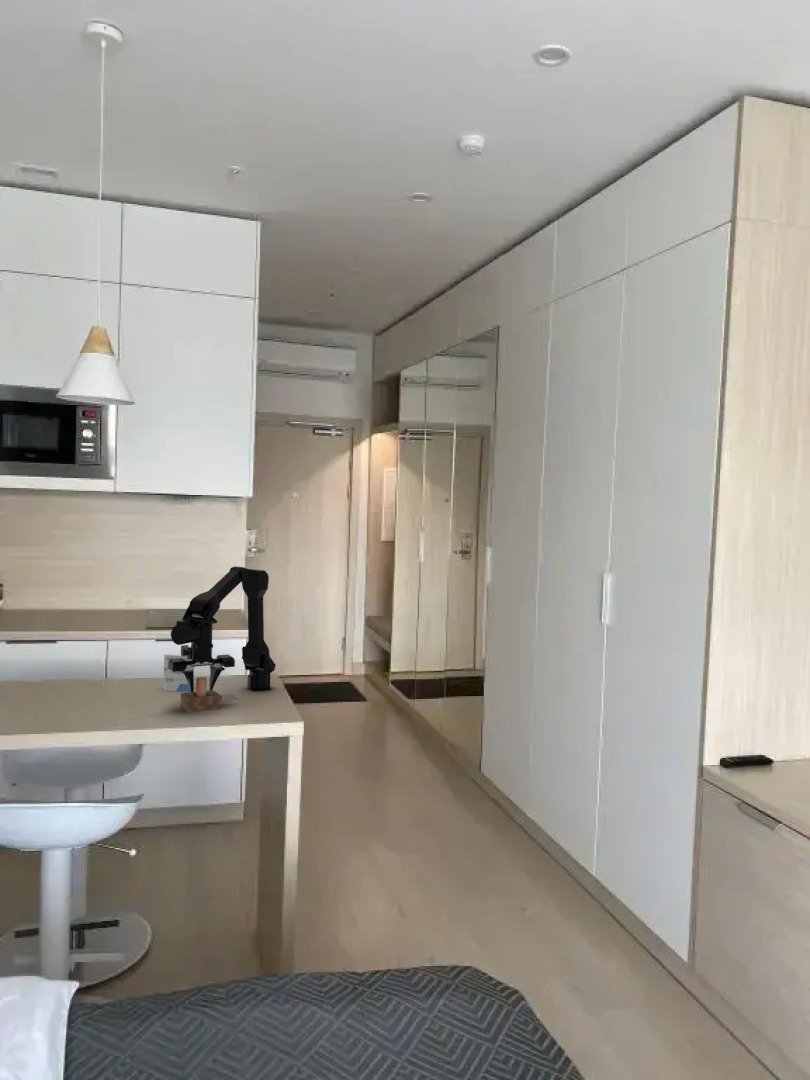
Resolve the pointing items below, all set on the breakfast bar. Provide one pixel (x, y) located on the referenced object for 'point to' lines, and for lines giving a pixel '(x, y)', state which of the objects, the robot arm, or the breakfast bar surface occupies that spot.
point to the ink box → (175, 675)
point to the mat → (229, 698)
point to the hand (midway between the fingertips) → (201, 691)
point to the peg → (201, 686)
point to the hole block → (201, 701)
